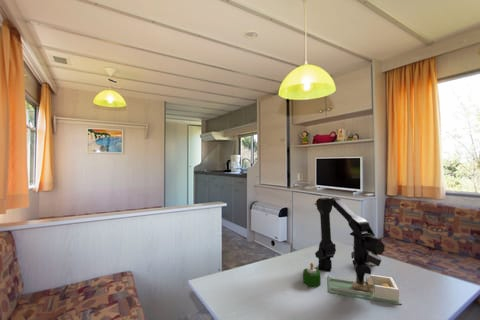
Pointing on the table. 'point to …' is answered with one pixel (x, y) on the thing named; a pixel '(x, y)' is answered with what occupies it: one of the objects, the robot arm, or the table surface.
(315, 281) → the candle
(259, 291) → the table surface
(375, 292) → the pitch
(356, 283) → the kicker
